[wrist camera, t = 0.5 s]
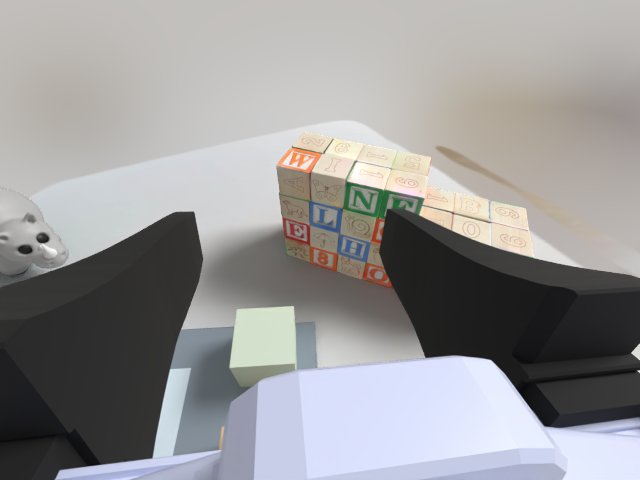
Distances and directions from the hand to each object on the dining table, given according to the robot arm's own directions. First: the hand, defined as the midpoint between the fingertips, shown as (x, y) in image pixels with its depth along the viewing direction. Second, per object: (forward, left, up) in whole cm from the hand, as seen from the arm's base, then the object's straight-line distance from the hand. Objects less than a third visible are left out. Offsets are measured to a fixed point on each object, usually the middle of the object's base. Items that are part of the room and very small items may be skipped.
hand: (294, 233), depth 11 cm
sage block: (+2, +3, -17) cm, 18 cm away
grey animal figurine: (+14, +28, -18) cm, 36 cm away
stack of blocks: (+12, -9, -18) cm, 24 cm away
